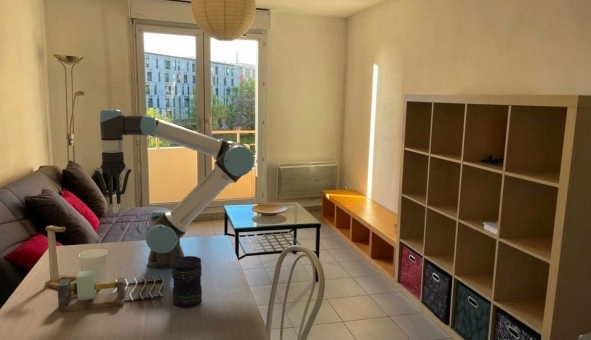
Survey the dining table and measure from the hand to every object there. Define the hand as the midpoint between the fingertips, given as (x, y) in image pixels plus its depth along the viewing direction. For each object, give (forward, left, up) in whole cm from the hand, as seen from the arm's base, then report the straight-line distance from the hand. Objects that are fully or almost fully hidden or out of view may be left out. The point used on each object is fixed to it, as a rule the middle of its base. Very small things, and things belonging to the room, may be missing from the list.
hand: (115, 212), depth 162 cm
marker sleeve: (+8, +21, -23) cm, 32 cm away
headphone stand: (+19, +1, -27) cm, 33 cm away
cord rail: (+6, +21, -26) cm, 34 cm away
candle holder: (+8, +4, -27) cm, 28 cm away
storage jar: (-25, +28, -27) cm, 46 cm away
